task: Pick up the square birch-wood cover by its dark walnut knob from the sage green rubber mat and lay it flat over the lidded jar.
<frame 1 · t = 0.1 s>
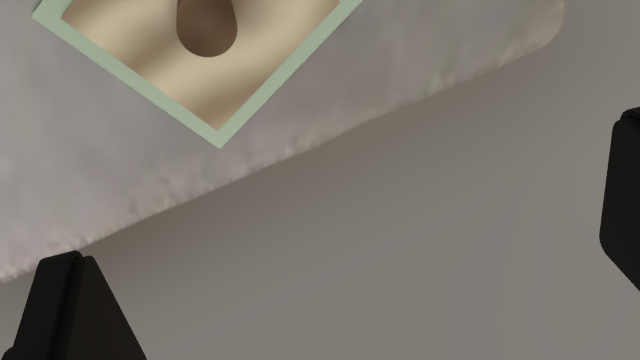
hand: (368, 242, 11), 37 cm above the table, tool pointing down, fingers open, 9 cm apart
cover: (204, 6, 44), point 1 cm above the table, touching mat
mat: (204, 2, 44), on the table
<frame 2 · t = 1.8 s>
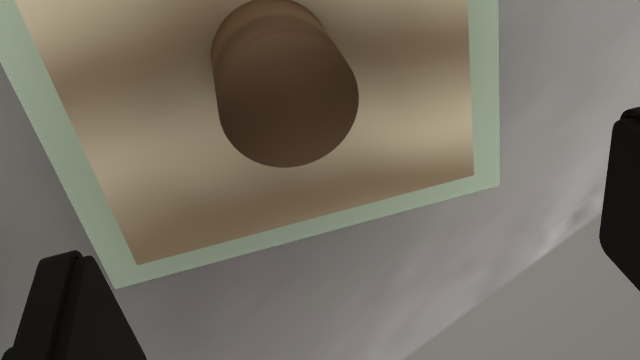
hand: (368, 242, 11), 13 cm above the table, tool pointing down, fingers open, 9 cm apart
cover: (268, 49, 21), point 1 cm above the table, touching mat
mat: (264, 39, 22), on the table
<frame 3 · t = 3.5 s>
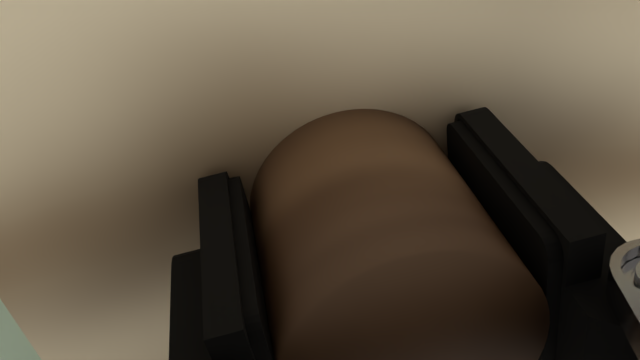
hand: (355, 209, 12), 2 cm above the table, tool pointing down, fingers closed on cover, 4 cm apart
cover: (342, 179, 12), point 1 cm above the table, touching gripper, mat
mat: (332, 154, 13), on the table
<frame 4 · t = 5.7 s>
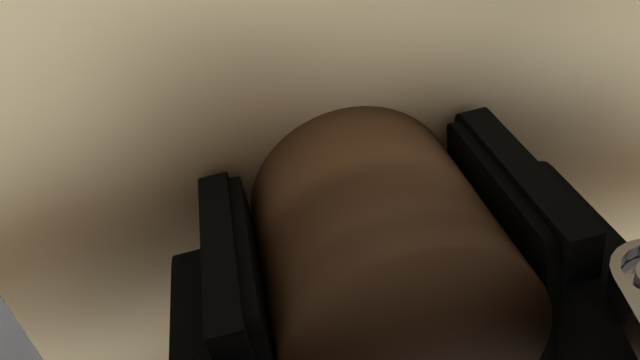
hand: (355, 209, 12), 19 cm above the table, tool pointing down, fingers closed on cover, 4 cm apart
cover: (343, 176, 12), point 18 cm above the table, touching gripper
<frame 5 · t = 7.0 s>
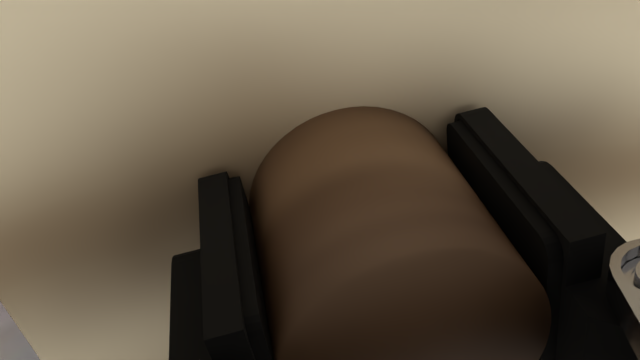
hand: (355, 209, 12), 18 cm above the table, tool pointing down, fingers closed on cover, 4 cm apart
cover: (342, 177, 12), point 17 cm above the table, touching gripper
when the fingers open (12 cm above the table, at t = 8.2 s): cover drops 1 cm, resting on lidded jar.
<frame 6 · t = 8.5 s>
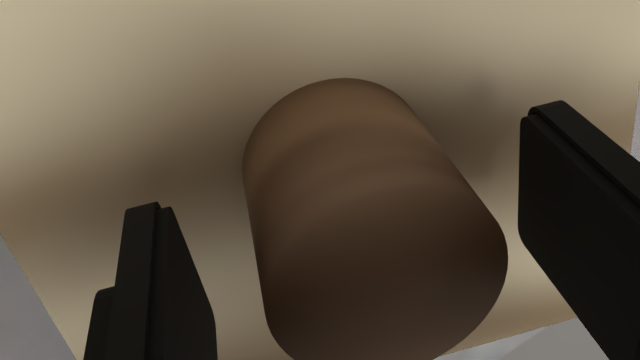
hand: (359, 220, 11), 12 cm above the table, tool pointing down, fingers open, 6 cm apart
cover: (328, 148, 14), point 9 cm above the table, touching lidded jar
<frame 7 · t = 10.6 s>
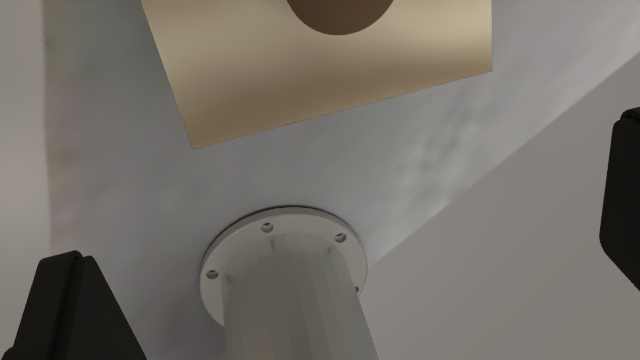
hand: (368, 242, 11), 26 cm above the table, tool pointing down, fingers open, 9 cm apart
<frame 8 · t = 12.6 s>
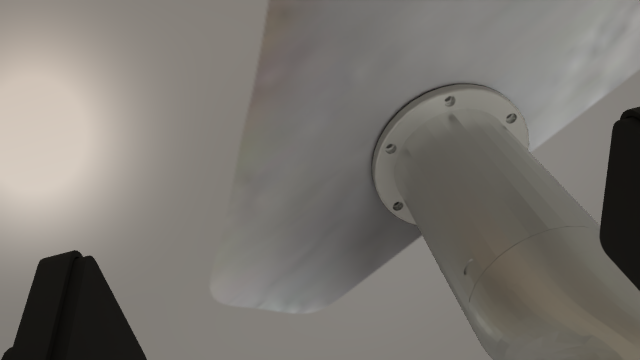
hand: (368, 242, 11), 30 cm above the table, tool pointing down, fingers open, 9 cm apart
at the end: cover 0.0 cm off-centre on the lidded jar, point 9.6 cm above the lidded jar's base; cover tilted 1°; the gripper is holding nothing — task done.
